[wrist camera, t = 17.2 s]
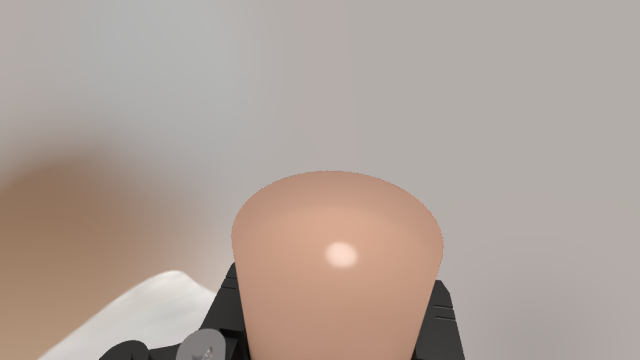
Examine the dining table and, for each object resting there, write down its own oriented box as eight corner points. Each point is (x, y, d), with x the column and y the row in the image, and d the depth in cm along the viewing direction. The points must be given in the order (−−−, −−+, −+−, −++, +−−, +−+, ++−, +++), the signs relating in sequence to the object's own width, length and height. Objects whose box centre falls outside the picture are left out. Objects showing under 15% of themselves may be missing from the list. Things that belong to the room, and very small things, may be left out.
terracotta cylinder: (399, 410, 14) (466, 207, 8) (345, 548, 11) (393, 368, 5) (309, 350, 16) (310, 155, 10) (239, 448, 13) (183, 241, 7)
